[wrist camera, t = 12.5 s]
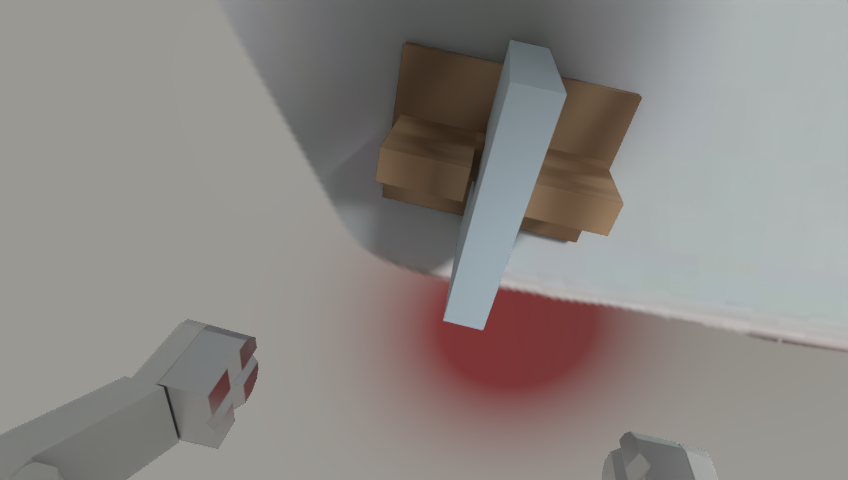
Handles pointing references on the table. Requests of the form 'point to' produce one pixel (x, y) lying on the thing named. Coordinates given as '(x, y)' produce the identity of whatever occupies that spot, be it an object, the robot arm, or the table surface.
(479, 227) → the slotted plate
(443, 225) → the table surface
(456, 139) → the jig
